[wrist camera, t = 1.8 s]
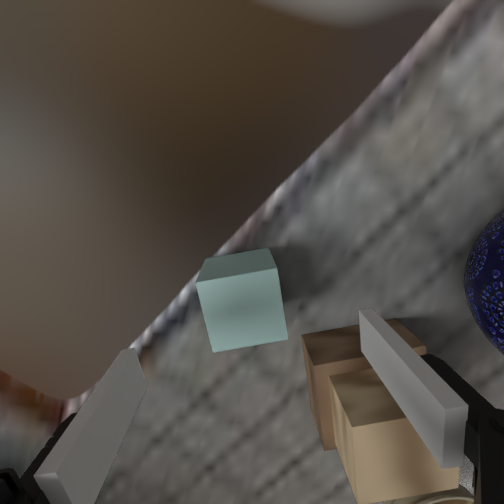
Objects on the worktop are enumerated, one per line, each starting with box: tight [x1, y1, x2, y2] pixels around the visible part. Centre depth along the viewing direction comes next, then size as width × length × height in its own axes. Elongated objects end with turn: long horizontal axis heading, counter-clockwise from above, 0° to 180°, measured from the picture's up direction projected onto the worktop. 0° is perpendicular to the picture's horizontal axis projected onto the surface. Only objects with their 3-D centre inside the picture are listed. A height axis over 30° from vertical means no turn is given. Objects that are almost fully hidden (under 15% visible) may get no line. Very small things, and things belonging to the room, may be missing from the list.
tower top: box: [329, 368, 460, 504], centre depth 22 cm, size 8×8×5 cm
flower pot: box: [383, 484, 474, 504], centre depth 28 cm, size 9×9×9 cm
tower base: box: [301, 318, 426, 451], centre depth 26 cm, size 10×10×5 cm
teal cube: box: [196, 248, 288, 353], centre depth 23 cm, size 6×6×6 cm
